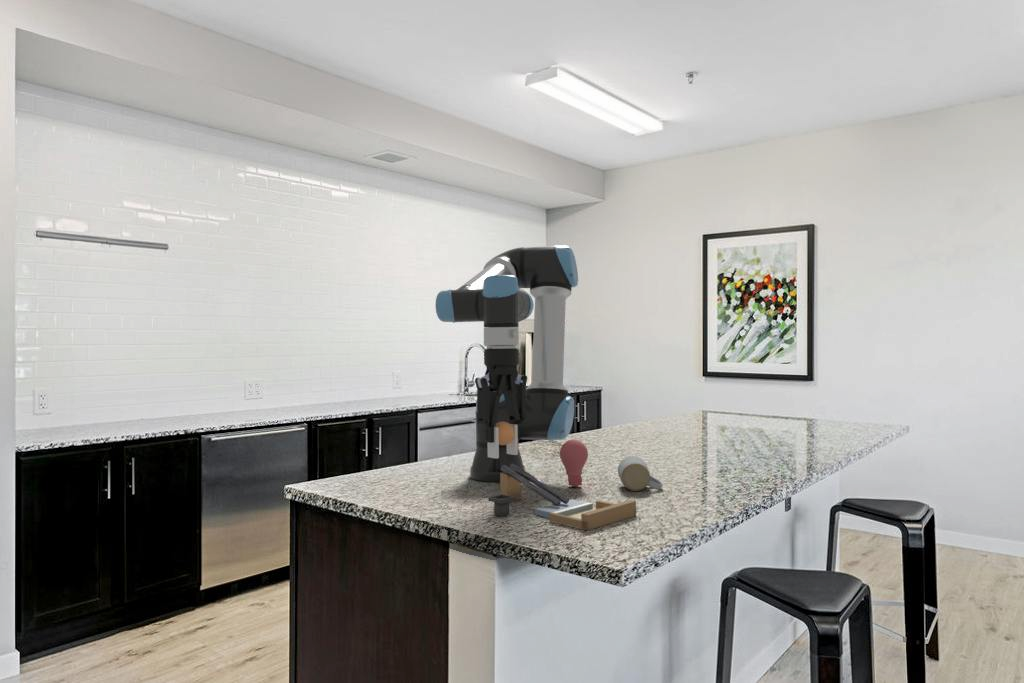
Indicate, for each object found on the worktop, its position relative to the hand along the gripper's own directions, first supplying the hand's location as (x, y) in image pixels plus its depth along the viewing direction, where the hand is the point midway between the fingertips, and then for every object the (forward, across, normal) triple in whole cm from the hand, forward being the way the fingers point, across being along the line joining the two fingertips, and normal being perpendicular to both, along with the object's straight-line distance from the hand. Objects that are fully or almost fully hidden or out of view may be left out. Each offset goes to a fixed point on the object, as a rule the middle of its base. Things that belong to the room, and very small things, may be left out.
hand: (502, 455), depth 145 cm
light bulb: (+13, +31, +6) cm, 34 cm away
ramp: (+12, +10, 0) cm, 16 cm away
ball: (-5, 0, 0) cm, 5 cm away
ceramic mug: (+13, +41, -7) cm, 43 cm away
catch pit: (+12, +10, -17) cm, 23 cm away
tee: (+12, -1, -1) cm, 12 cm away
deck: (+12, +10, -9) cm, 18 cm away
